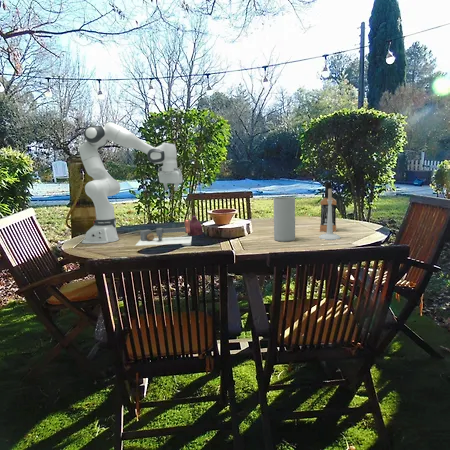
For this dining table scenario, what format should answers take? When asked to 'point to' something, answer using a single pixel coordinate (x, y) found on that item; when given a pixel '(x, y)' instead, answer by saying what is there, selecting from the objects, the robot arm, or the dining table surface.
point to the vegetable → (195, 227)
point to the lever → (174, 229)
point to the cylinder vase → (284, 219)
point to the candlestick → (329, 221)
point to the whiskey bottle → (325, 210)
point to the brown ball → (150, 237)
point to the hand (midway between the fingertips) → (171, 190)
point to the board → (162, 239)
